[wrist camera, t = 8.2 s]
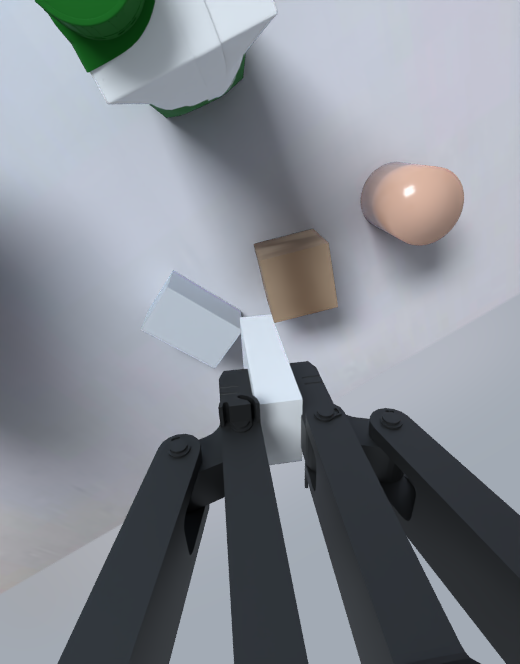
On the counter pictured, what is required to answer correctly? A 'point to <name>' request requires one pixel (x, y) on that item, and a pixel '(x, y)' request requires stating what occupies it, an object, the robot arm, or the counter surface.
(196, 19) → the milk carton
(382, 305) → the counter surface
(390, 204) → the peach domed cylinder
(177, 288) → the grey brick
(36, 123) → the counter surface
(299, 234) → the walnut cube
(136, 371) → the counter surface
